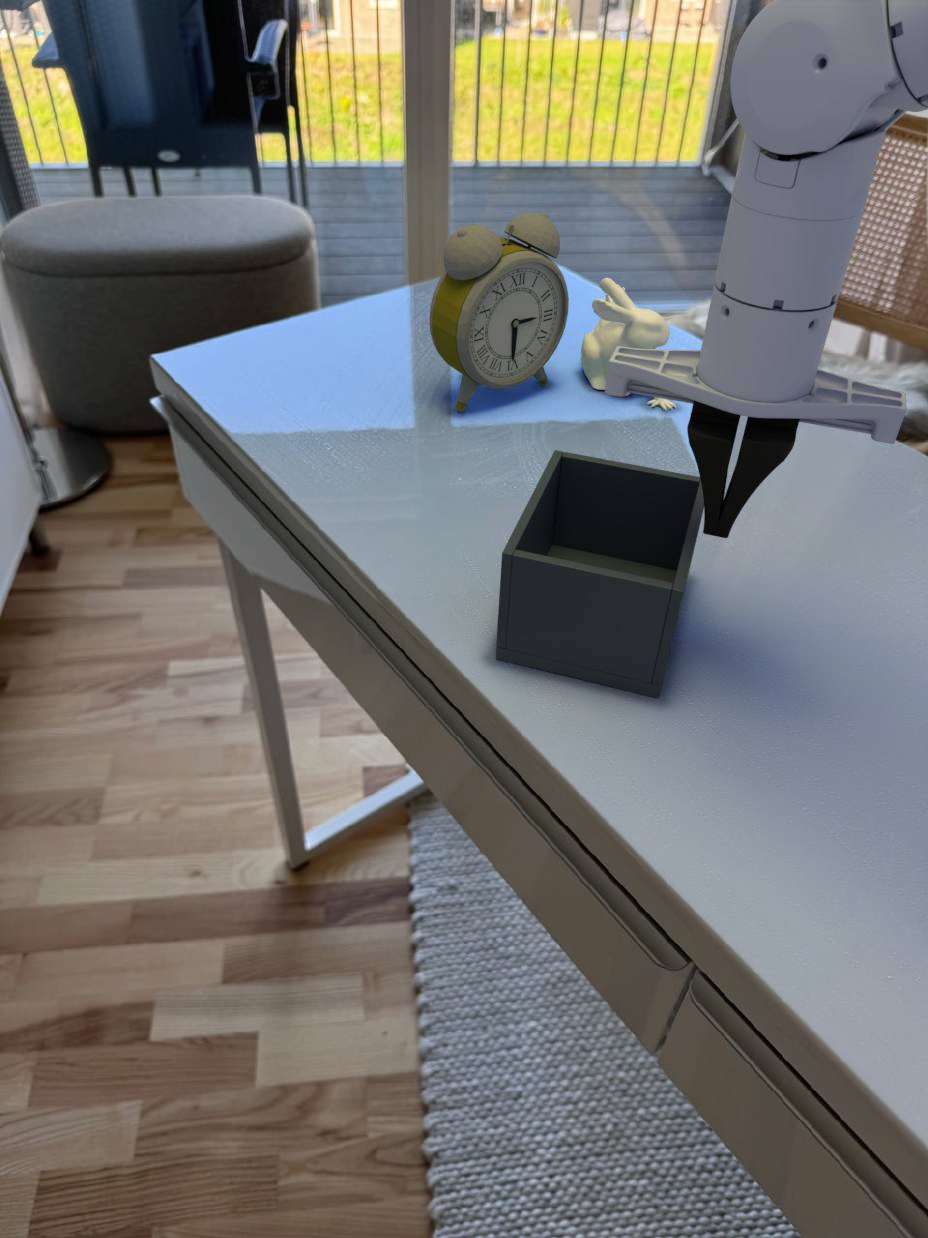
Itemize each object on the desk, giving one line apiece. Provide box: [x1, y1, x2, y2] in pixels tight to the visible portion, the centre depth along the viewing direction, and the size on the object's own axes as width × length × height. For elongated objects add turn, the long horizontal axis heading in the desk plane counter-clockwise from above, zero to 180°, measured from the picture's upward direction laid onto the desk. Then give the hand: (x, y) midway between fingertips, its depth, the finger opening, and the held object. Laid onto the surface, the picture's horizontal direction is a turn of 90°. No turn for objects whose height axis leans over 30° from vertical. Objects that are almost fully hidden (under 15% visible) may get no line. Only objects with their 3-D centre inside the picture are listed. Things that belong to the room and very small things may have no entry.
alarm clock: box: [429, 211, 570, 412], centre depth 78 cm, size 12×7×15 cm, turn 126°
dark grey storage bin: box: [495, 449, 704, 699], centre depth 56 cm, size 8×12×10 cm
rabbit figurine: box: [580, 277, 677, 411], centre depth 81 cm, size 12×8×10 cm, turn 18°
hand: (717, 526), depth 52 cm, fingers closed
